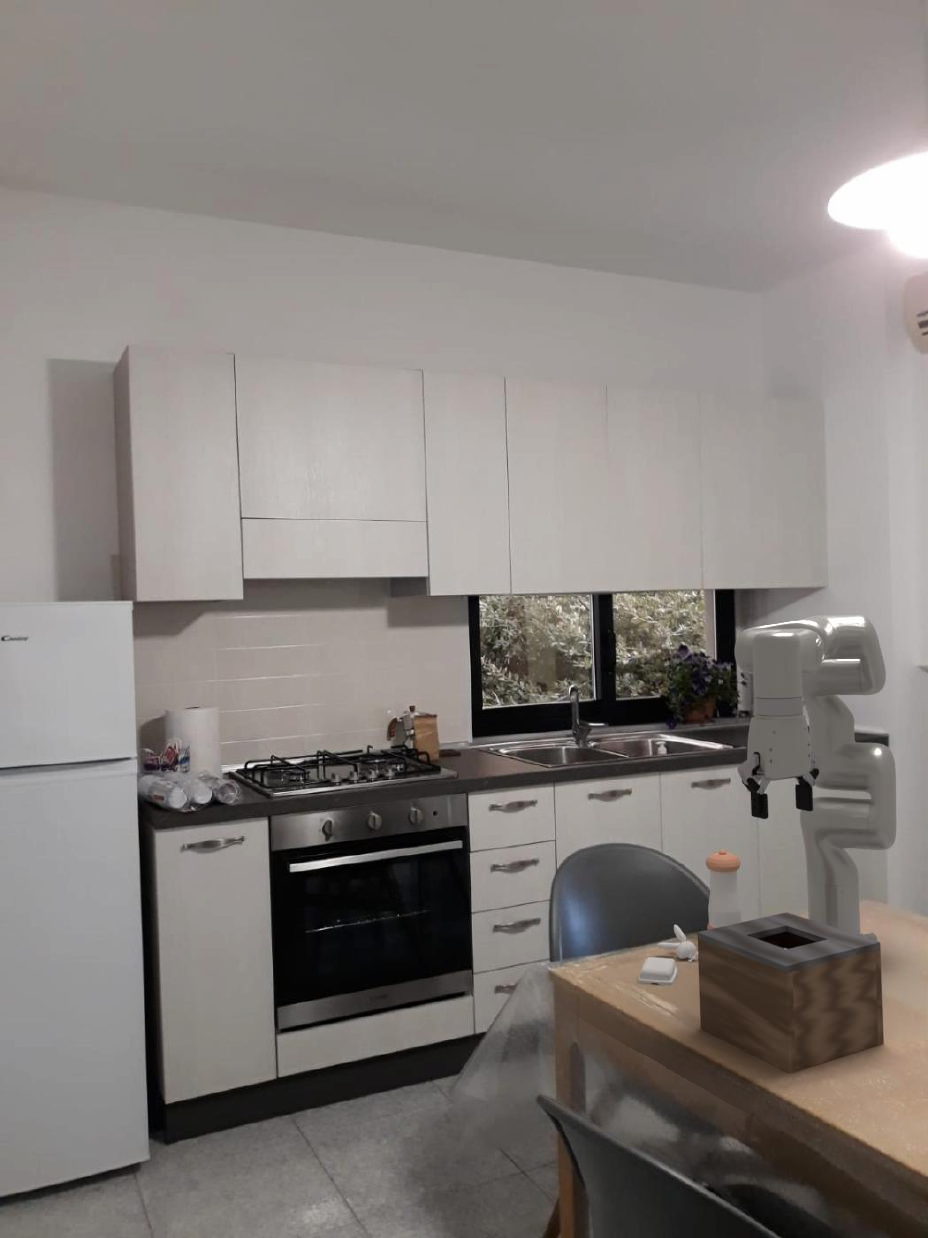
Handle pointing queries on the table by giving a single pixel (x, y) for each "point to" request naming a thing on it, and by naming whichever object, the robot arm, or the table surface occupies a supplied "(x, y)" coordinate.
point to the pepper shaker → (723, 890)
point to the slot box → (791, 990)
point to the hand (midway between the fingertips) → (782, 813)
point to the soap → (658, 971)
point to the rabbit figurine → (680, 946)
